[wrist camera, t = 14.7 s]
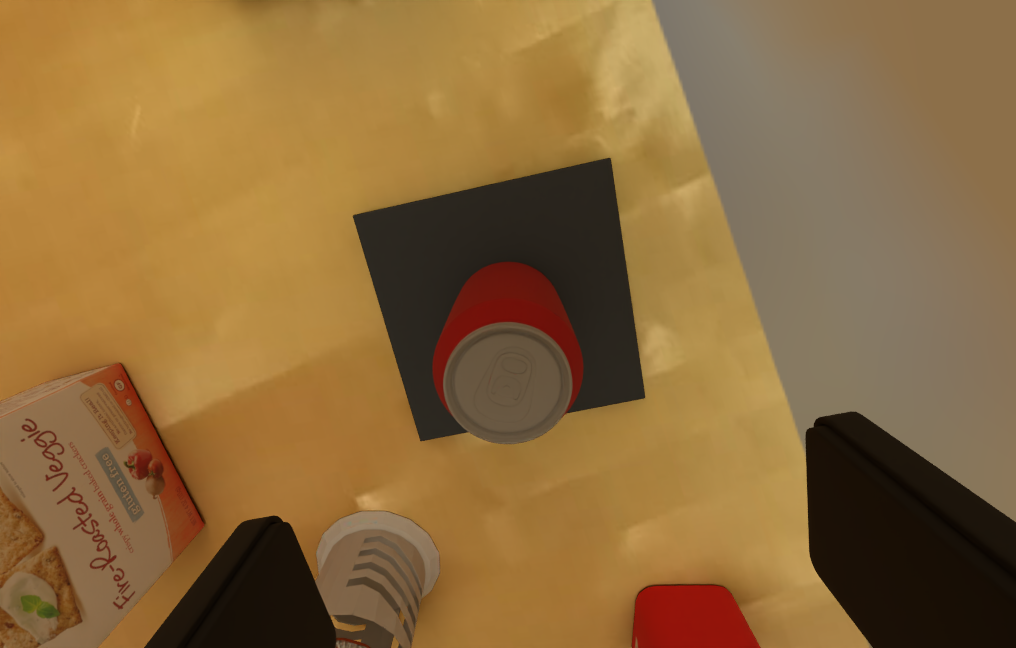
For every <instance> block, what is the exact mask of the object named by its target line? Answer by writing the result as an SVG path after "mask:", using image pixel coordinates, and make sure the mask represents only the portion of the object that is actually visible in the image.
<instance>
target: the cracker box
mask: <svg viewBox="0 0 1016 648" xmlns="http://www.w3.org/2000/svg"><path fill="white" fill-rule="evenodd" d="M203 527H204V523H203V522H202V520H201V518H200V516H199V514H198V512H197V510H196V508H195V506H194V505H193V503H192V501H191V499H190V497H189V495H188V493H187V491H186V489H185V487H184V485H183V483H182V481H181V479H180V478H179V476H178V474H177V472H176V470H175V468H174V466H173V464H172V462H171V460H170V458H169V456H168V455H167V452H166V450H165V449H164V447H163V445H162V443H161V441H160V439H159V437H158V435H157V433H156V431H155V429H154V427H153V425H152V423H151V421H150V419H149V417H148V415H147V414H146V412H145V410H144V408H143V406H142V404H141V402H140V400H139V398H138V396H137V394H136V392H135V390H134V388H133V387H132V385H131V383H130V381H129V379H128V377H127V375H126V373H125V371H124V369H123V367H122V365H121V364H114V365H110V366H106V367H102V368H98V369H95V370H91V371H87V372H83V373H79V374H75V375H72V376H68V377H64V378H60V379H56V380H52V381H48V382H45V383H43V384H40V385H38V386H35V387H33V388H30V389H28V390H26V391H23V392H21V393H18V394H16V395H14V396H12V397H9V398H7V399H5V400H2V401H0V648H98V647H99V646H100V644H101V643H102V642H103V641H104V640H105V639H106V638H107V636H108V635H109V634H110V633H111V632H112V631H113V630H114V628H115V627H116V626H117V625H118V624H119V623H120V622H121V620H122V619H123V618H124V617H125V616H126V615H127V614H128V613H129V612H130V610H131V609H132V608H133V607H134V606H135V605H136V604H137V603H138V601H139V600H140V599H141V598H142V597H143V596H144V594H145V593H146V592H147V591H148V590H149V589H150V588H151V587H152V585H153V584H154V583H155V582H156V581H157V580H158V579H159V577H160V576H161V575H162V574H163V573H164V572H165V571H166V569H167V568H168V567H169V566H170V565H171V564H172V562H173V561H174V560H175V559H176V558H177V557H178V556H179V555H180V553H181V552H182V551H183V550H184V549H185V548H186V546H187V545H188V544H189V543H190V542H191V541H192V539H193V538H194V537H195V536H196V535H197V534H198V533H199V532H200V530H201V529H202V528H203Z"/></svg>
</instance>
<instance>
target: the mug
mask: <svg viewBox="0 0 1016 648" xmlns="http://www.w3.org/2000/svg"><path fill="white" fill-rule="evenodd" d="M632 648H760V646H759V644H758V642H757V640H756V638H755V637H754V635H753V633H752V631H751V629H750V627H749V625H748V624H747V622H746V620H745V618H744V616H743V614H742V612H741V611H740V609H739V607H738V605H737V603H736V601H735V599H734V598H733V596H732V594H731V593H730V592H729V591H728V590H727V589H726V588H725V587H721V586H716V585H689V586H653V587H648V588H646V589H644V590H643V591H642V592H640V593H639V595H638V597H637V599H636V604H635V616H634V628H633V639H632Z"/></svg>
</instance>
